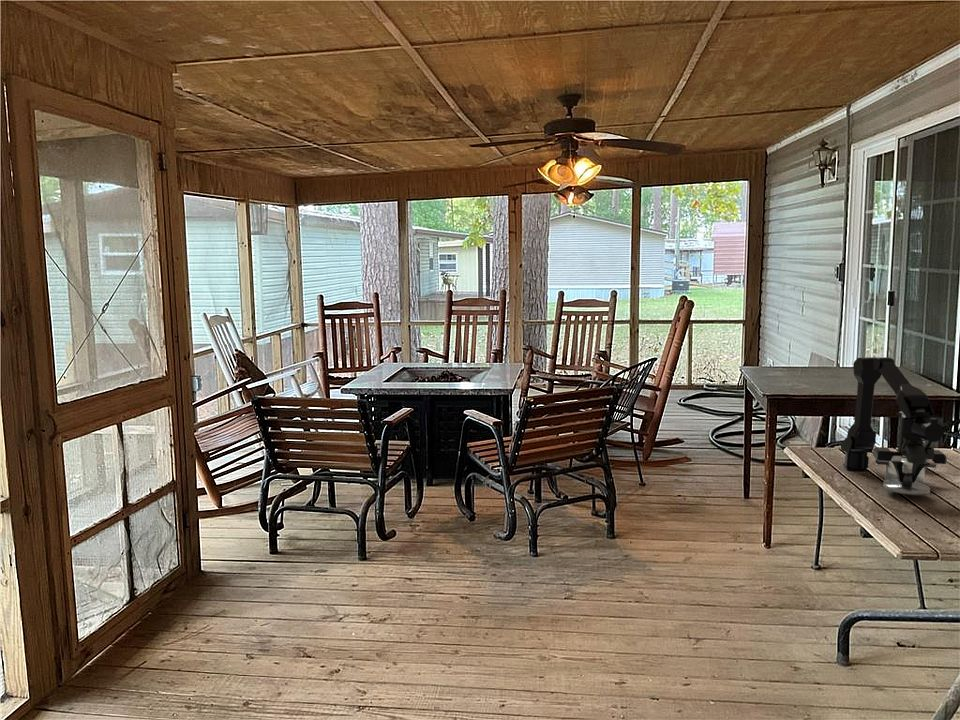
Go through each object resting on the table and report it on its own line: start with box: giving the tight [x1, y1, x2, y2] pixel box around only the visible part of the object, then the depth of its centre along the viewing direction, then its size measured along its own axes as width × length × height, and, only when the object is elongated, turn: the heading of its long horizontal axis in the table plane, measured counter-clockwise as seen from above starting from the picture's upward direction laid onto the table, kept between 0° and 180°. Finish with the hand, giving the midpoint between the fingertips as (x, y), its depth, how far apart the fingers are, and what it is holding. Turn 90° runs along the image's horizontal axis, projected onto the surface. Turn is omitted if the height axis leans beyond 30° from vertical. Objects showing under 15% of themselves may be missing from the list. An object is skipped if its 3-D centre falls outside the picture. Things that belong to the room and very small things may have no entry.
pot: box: [875, 458, 937, 484], centre depth 229 cm, size 17×11×7 cm, turn 75°
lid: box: [882, 471, 931, 496], centre depth 215 cm, size 12×12×5 cm
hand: (906, 482), depth 215 cm, fingers closed on lid, 3 cm apart
